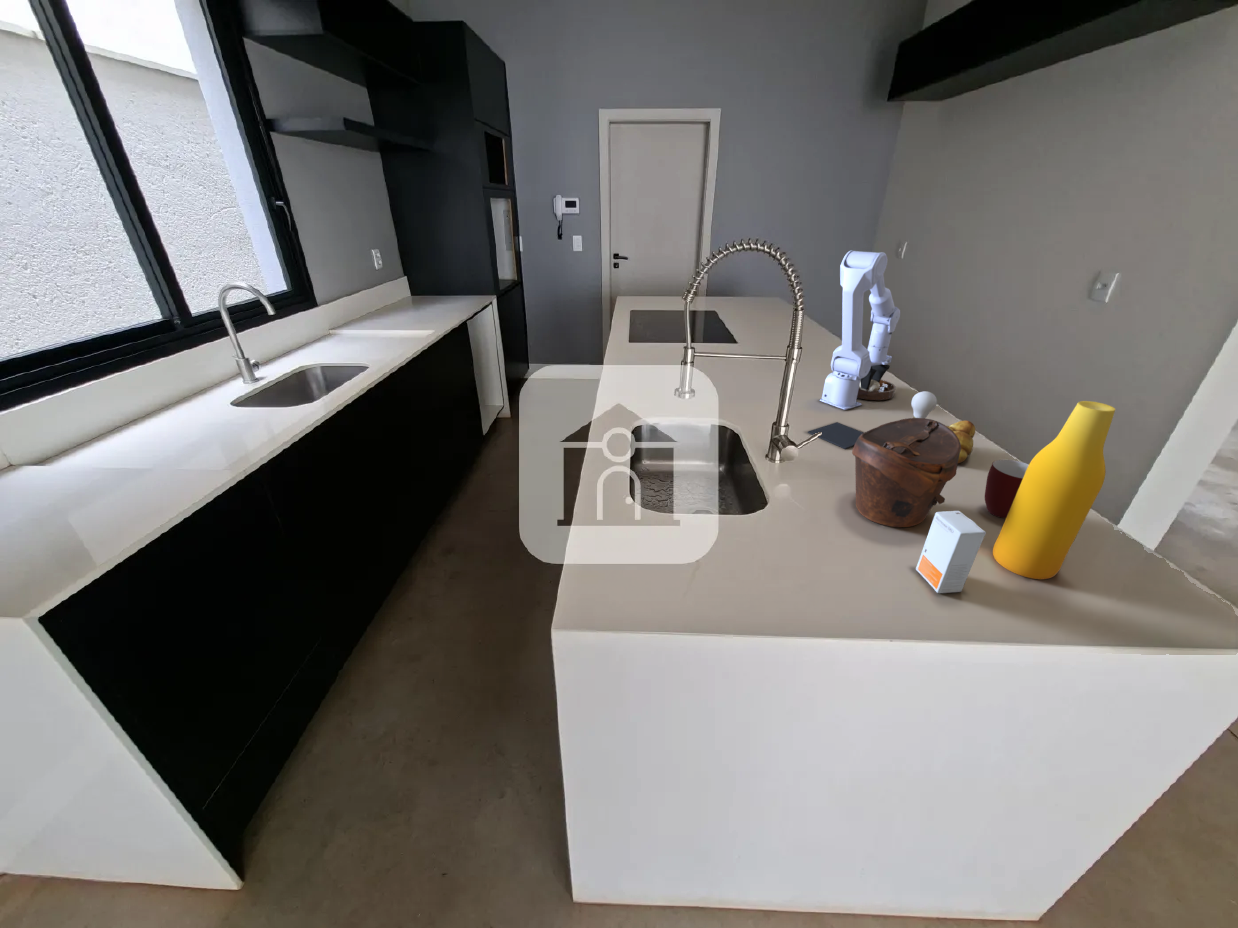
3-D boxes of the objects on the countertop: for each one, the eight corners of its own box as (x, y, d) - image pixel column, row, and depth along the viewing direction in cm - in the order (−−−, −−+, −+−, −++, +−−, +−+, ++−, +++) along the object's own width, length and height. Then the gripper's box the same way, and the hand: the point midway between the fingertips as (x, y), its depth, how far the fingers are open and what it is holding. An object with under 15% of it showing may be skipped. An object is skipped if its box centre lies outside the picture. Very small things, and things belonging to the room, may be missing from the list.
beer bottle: (1040, 550, 89) (1113, 397, 75) (1068, 584, 81) (1157, 420, 67) (982, 543, 91) (1043, 393, 77) (1004, 576, 83) (1077, 415, 69)
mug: (1039, 513, 99) (1059, 470, 94) (1040, 533, 93) (1061, 487, 88) (976, 497, 104) (993, 455, 100) (973, 515, 99) (991, 471, 94)
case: (840, 529, 95) (860, 445, 87) (840, 480, 111) (857, 406, 103) (946, 549, 89) (979, 461, 81) (930, 495, 105) (956, 417, 97)
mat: (807, 432, 134) (807, 431, 134) (836, 423, 140) (837, 422, 140) (845, 449, 125) (845, 447, 125) (875, 438, 131) (875, 437, 130)
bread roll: (970, 470, 115) (982, 439, 111) (923, 461, 119) (932, 431, 115) (967, 448, 125) (977, 419, 121) (923, 441, 129) (931, 412, 125)
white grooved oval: (854, 390, 162) (857, 377, 160) (862, 387, 164) (865, 375, 162) (872, 396, 157) (875, 383, 155) (881, 393, 159) (884, 381, 157)
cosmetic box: (914, 569, 84) (934, 511, 79) (937, 568, 85) (959, 509, 79) (937, 594, 79) (960, 533, 73) (962, 592, 79) (987, 531, 74)
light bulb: (923, 422, 140) (933, 388, 135) (933, 430, 135) (943, 396, 130) (901, 421, 140) (910, 388, 136) (910, 430, 135) (920, 395, 130)
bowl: (832, 390, 163) (833, 382, 162) (861, 382, 170) (863, 374, 169) (873, 405, 152) (875, 395, 150) (903, 395, 159) (906, 386, 157)
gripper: (875, 351, 147) (865, 395, 154) (904, 345, 154) (894, 386, 160) (854, 346, 153) (845, 388, 159) (884, 340, 159) (874, 380, 166)
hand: (868, 387), depth 160 cm, fingers closed on white grooved oval, 4 cm apart
